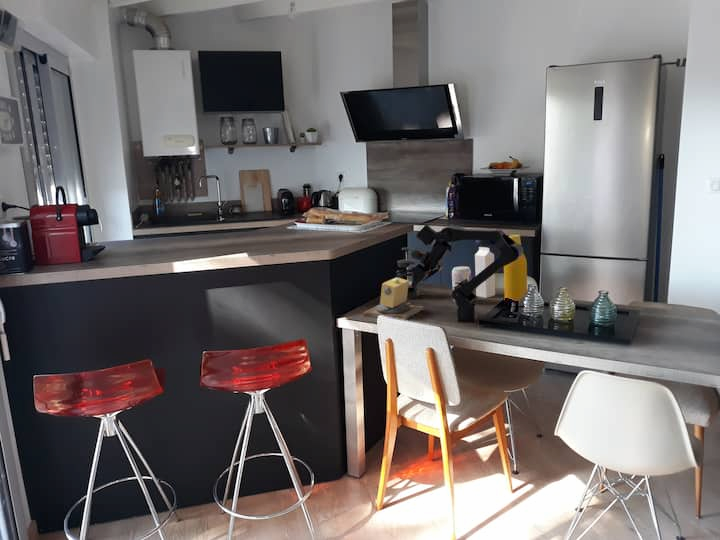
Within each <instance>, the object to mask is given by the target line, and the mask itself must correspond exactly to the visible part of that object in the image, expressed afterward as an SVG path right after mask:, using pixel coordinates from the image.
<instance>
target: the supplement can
mask: <svg viewBox="0 0 720 540" xmlns="http://www.w3.org/2000/svg"><path fill="white" fill-rule="evenodd" d="M466 278H467V280H468V281H470V280H471V279H472V271H471V268H470V266H465V265H464V266H463V265H462V266H454V267H453V268H452V270H451V280H452V281H451V282H452V291H453V290H454V287H455V286H457V285H458V284H459V283H460V282H461V281H463V280H465V279H466ZM452 301H453V302H455V300H454V299H453V298H452Z"/></svg>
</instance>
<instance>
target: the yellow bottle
mask: <svg viewBox="0 0 720 540" xmlns="http://www.w3.org/2000/svg"><path fill="white" fill-rule="evenodd" d="M508 236H509V237H510V238H511V239H513V240H514V241H515V242H516V243H518V244H520V245H521V246H522V243H521V235H520V234H511V235H508ZM503 283H504V284H503V285H504V288H503V289H504V299H505V298H509V299H512V300H514V301H520V299H522V298H523V297H524V296H525V294H526V292H527V293H528V264H527V258H526V256H525V254H524V253H523V255H522V256H521V257H520V258H518V259H517V260H515V261H513V262H512V263H510V264H508V265H506V266H504V267H503Z"/></svg>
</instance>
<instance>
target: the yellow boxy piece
mask: <svg viewBox="0 0 720 540" xmlns="http://www.w3.org/2000/svg"><path fill="white" fill-rule="evenodd" d="M409 281H410V280H409V279H408V280H407V279H404V278H403V279H401V278H398V277H396V276H395V277H394V278H391V279H389V280H387V281H384V282H383V283H382V284H381V289H380V291H381V292H380V301H379V304H381V305H385V306H388V307H391V308H393V307H395V306H397V305H399V304H401V303H403V302H407V300H408V299H407V292H408V288H409V286H408V285H409Z"/></svg>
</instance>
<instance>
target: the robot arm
mask: <svg viewBox="0 0 720 540" xmlns="http://www.w3.org/2000/svg"><path fill="white" fill-rule="evenodd" d="M509 236H510V235H508V234H506V233H505V231H503V230H502V229H499V228H498V229H482V228H480V229H478V228H477V229H476V228H464V227H462V226H458V225H449V226H446V227H443V228H442V229H441V230H440V231H435V229H433V228H431V226H430V224H425V225H424V226H423V227H422V228H421V229H420V230H419V231H418V232H417V234H416V236H415V238H416V239H417V240H418V241H419V242H421V243H422V244H423V245H425V246H426V247H431V249H430V250H429V251H426V250H424V249H421V248H414V249H412V251H411V253H410V255H411V259H414V260H418V261H419V262H420V263H416V265H415V264H413V266H411V268H410V269H411V271H412V272H413V274H414V276H413V277H412V280H411V281H412V284H411V286H410V287H412V288H413V287H414V286H415V285H417V286H418V284H420V283H423V282H425V281H427V280H429V279H430V278H431V277H433V276H434V275H436V274H437V273H439V272H440V271H441V270H442V269H443V268H444V263H443V262H442V261H443V260H444V257H445V255H446V253H447V252H448V251H449V252H453V251H455V250H456V248H455V246H454V242H458V241H459V242H460V241H465V240H466V241H490V242H493V243H494V244H495V246H496V247H497V248H498V250H499V251H500V253H499V255H498V256H497V257H496V259H494V262H493V263H491V264H490V265H489V266H488V267H486V268H485V269H484V270H483V271H481V272H480V273H479V274H478V275H476V274H475V276H474V277H472V278H471V280H470V281H468V280H467V278H466V279H465V280H463V281H461V282H460V283H459V284H458V285H457V286H455V287H454V290H453V289H452V292H451V296H452V300H453V299H454V300H455V301H454V303H455V302H456V307H457V308H456V314H457V322H461V323H462V322H463V323H475V322H476V320H477V319H478V316H477V304H476V303H477V301H478V297H479V296H476V293H474V292H476V289H477V287H478V286H479V285H481V284H482V283H483V282H484V281H486V280H487V279H488V278H489V277H491V276H492V275H493V274H495V275H496V273H497V272H499V271H500V270H501V269H502V268H504V266H506V265H508V264H510V263H512V262H513V261H515V260H517V259H518V258H520V257H521V256H522V255H523V254H524V248H523V246H522V244H521V245H520V244H518V243H516V242H515V241H514V240H513V239H511V238H510V237H509ZM452 242H453V243H452ZM412 272H411V273H412Z"/></svg>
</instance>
